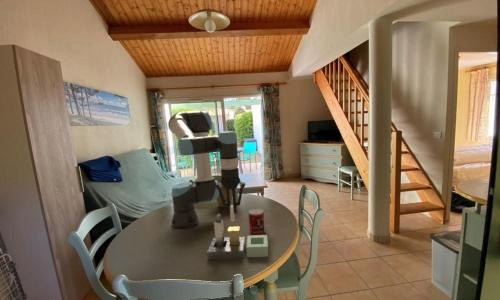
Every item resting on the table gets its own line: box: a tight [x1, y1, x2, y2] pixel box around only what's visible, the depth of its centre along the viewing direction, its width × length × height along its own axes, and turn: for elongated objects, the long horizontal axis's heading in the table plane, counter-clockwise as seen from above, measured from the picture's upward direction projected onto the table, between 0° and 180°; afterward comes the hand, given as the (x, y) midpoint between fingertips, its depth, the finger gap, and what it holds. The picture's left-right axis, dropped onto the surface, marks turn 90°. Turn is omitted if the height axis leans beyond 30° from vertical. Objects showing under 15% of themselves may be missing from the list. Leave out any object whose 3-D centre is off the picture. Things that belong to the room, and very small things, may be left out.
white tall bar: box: [213, 213, 225, 247], centre depth 104 cm, size 4×4×17 cm
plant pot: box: [216, 180, 233, 208], centre depth 162 cm, size 15×15×16 cm
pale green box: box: [245, 234, 269, 258], centre depth 104 cm, size 10×9×4 cm
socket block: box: [206, 236, 246, 261], centre depth 105 cm, size 12×15×4 cm
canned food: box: [248, 208, 265, 235], centre depth 122 cm, size 8×8×11 cm
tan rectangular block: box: [227, 226, 241, 246], centre depth 104 cm, size 4×5×10 cm
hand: (232, 220), depth 104 cm, fingers closed
